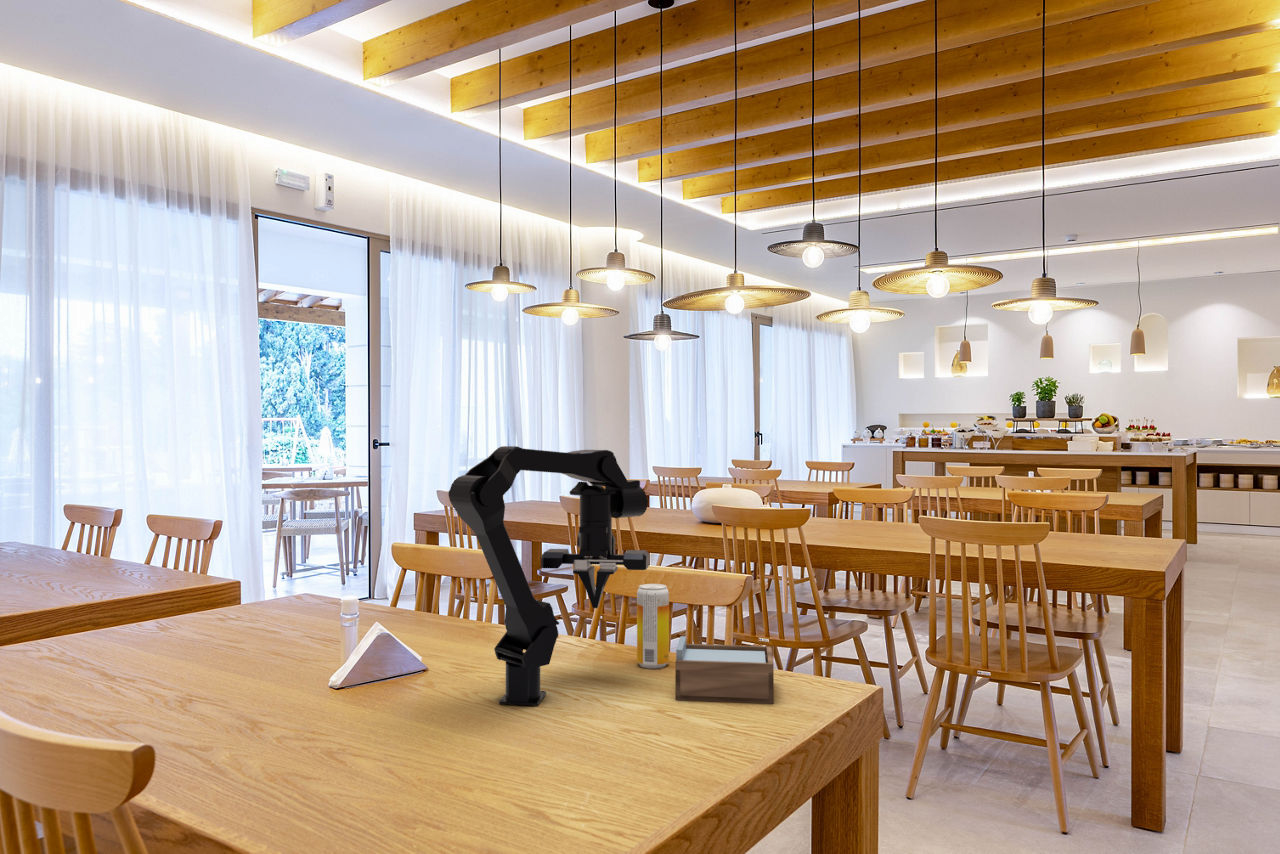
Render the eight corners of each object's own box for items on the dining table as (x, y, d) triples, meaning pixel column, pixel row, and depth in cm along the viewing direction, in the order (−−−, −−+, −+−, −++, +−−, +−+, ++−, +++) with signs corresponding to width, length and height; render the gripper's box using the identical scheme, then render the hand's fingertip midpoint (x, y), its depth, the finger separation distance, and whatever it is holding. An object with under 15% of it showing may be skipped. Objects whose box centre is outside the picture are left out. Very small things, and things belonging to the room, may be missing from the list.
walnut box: (773, 703, 137) (773, 664, 138) (675, 700, 139) (675, 661, 140) (771, 682, 149) (771, 646, 149) (680, 679, 151) (680, 643, 151)
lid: (766, 670, 139) (766, 652, 139) (676, 667, 141) (676, 649, 141) (764, 655, 148) (764, 638, 148) (680, 652, 150) (680, 636, 150)
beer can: (669, 661, 164) (669, 583, 164) (667, 669, 158) (667, 589, 158) (638, 660, 164) (638, 583, 165) (635, 668, 158) (635, 588, 158)
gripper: (652, 516, 157) (652, 600, 157) (554, 515, 160) (554, 598, 159) (645, 522, 146) (645, 612, 146) (540, 521, 149) (540, 610, 148)
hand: (595, 607), depth 150 cm, fingers closed
